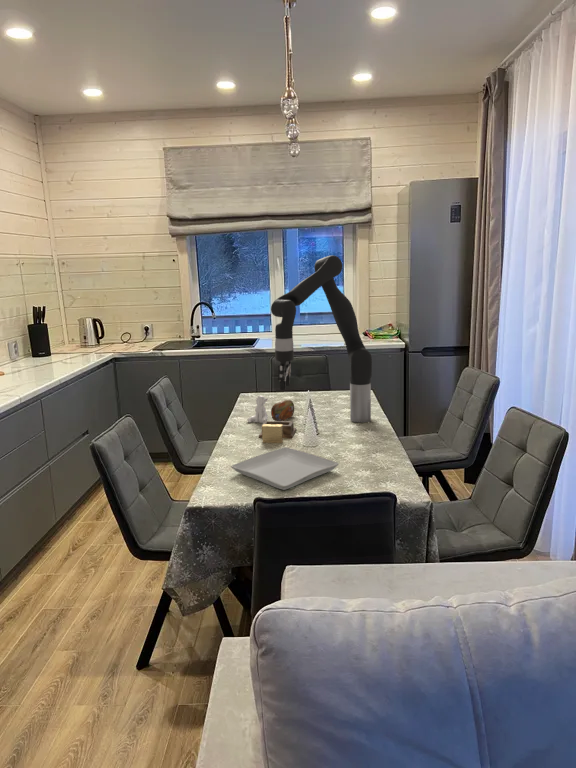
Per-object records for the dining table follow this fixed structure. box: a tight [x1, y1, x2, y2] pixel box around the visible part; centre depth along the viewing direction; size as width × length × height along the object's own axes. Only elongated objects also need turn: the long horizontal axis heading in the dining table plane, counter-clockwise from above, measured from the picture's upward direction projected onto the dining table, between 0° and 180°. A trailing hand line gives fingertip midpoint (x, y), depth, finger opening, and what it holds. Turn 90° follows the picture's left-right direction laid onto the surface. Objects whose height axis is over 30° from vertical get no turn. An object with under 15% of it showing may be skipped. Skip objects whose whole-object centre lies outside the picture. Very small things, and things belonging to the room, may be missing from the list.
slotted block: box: [258, 420, 297, 439], centre depth 239 cm, size 14×12×4 cm
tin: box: [270, 399, 295, 421], centre depth 261 cm, size 15×3×8 cm, turn 143°
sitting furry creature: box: [246, 395, 269, 424], centre depth 258 cm, size 10×9×12 cm
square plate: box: [230, 446, 340, 491], centre depth 194 cm, size 27×27×4 cm
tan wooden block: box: [261, 423, 284, 444], centre depth 228 cm, size 8×3×7 cm, turn 80°
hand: (285, 387), depth 233 cm, fingers open, 8 cm apart
